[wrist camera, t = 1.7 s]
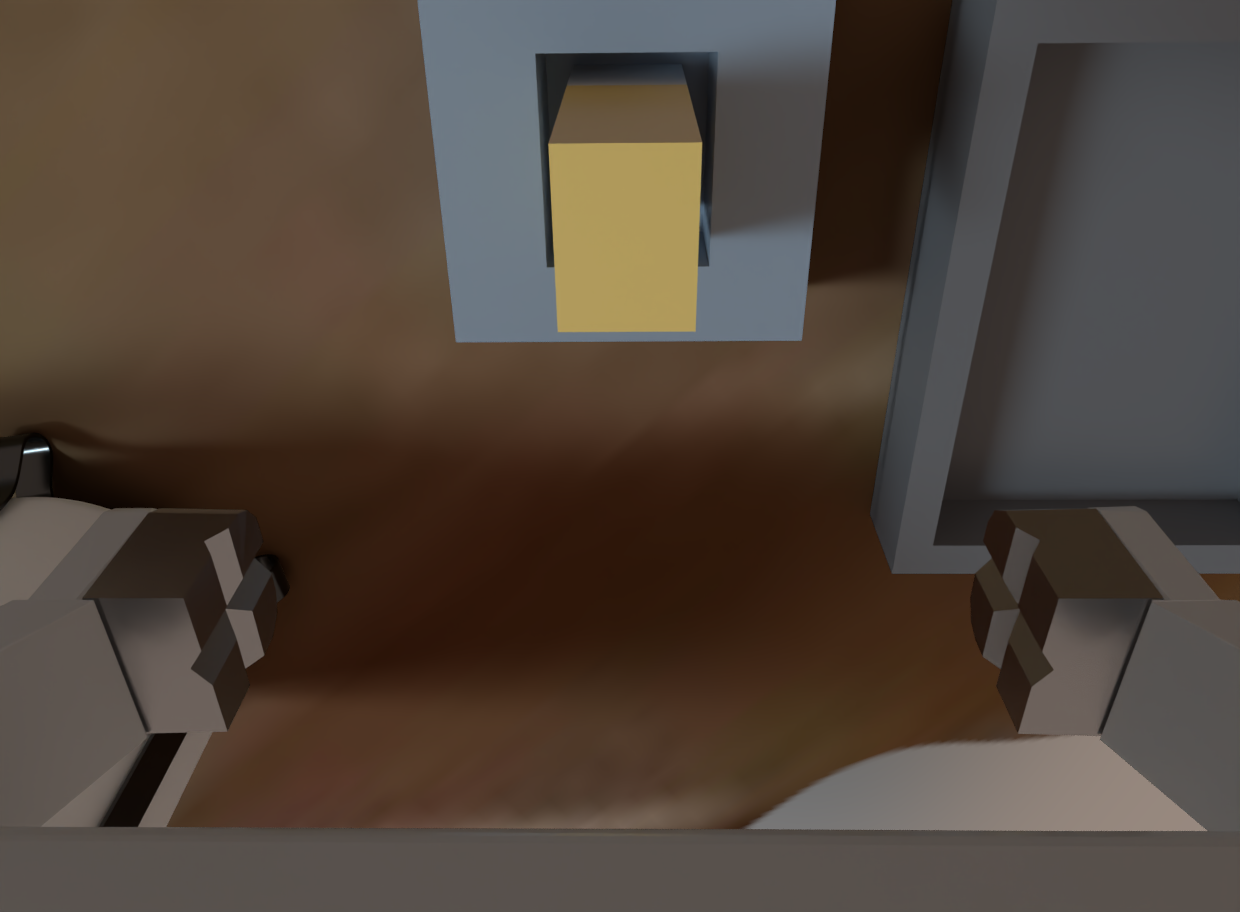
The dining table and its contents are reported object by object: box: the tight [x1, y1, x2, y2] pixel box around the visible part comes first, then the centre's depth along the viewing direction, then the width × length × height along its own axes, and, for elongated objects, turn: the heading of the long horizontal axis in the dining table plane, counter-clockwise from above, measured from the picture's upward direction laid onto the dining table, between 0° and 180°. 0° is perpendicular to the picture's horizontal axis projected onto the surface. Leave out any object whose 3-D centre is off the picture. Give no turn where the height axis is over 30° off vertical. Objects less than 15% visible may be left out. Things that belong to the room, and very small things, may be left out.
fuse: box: [548, 64, 702, 332], centre depth 23 cm, size 4×3×9 cm
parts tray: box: [870, 0, 1240, 574], centre depth 29 cm, size 18×14×4 cm
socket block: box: [418, 0, 836, 342], centre depth 26 cm, size 10×10×4 cm
